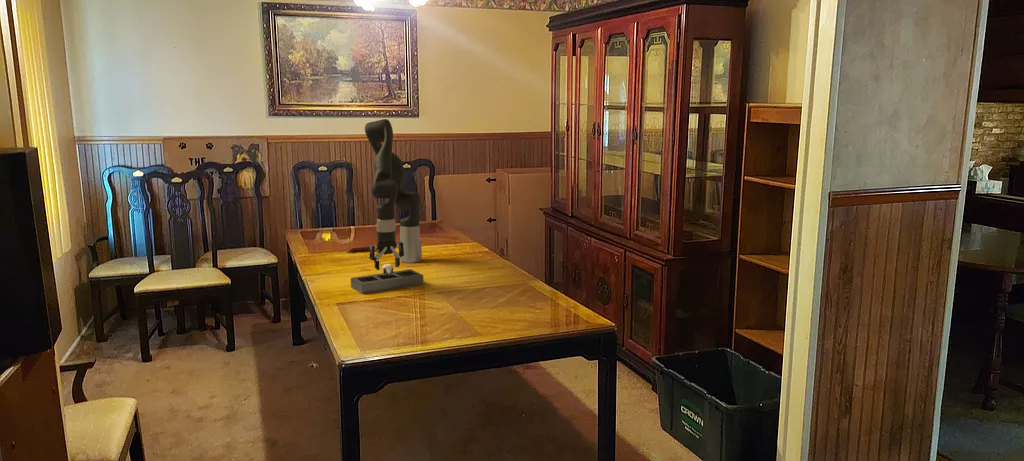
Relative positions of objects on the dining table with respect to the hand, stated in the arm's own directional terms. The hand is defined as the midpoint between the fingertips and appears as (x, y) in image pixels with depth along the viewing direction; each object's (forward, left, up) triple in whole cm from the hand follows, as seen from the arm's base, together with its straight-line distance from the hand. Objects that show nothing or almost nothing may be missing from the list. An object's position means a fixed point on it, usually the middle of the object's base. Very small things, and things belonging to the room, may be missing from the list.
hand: (387, 268), depth 288 cm
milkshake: (0, 0, -8) cm, 8 cm away
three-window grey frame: (0, 0, -7) cm, 7 cm away
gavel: (-18, -67, -8) cm, 70 cm away
